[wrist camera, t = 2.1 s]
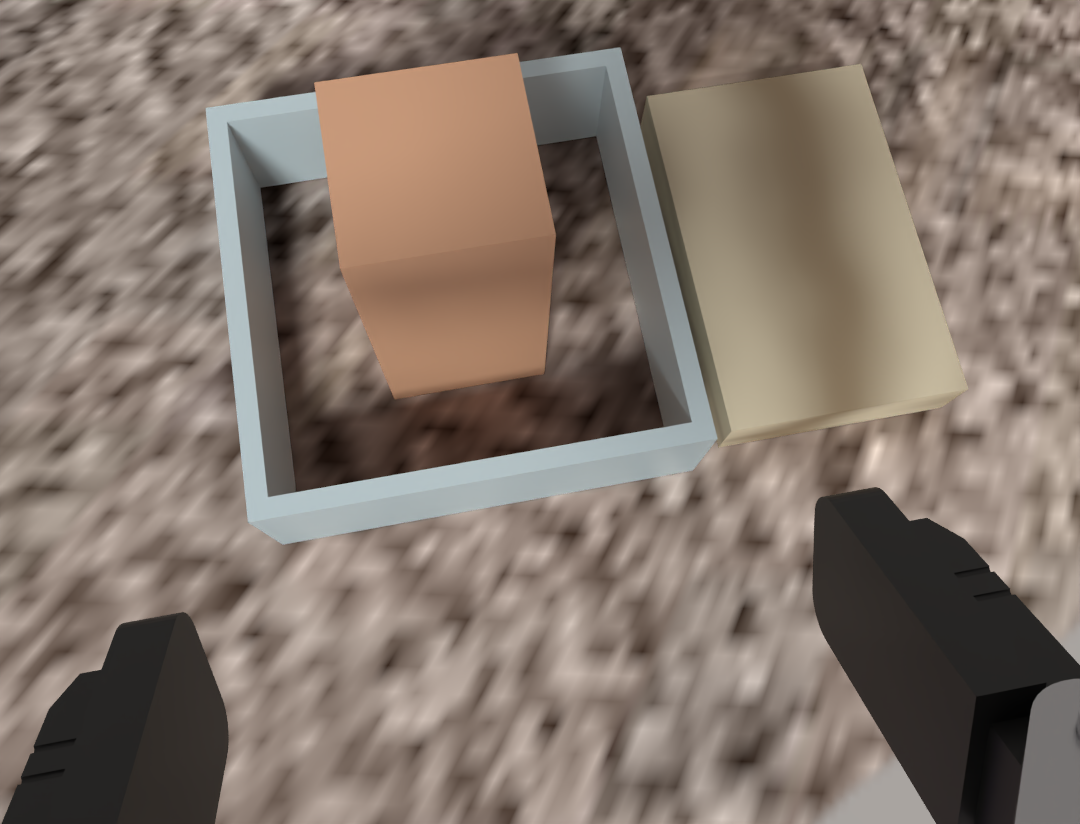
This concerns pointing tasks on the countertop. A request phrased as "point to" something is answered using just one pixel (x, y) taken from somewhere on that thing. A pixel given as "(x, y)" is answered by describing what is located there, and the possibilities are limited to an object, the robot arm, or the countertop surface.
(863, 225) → the block
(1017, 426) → the countertop surface
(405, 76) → the terracotta box
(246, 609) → the countertop surface
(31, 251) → the countertop surface
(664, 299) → the square frame
